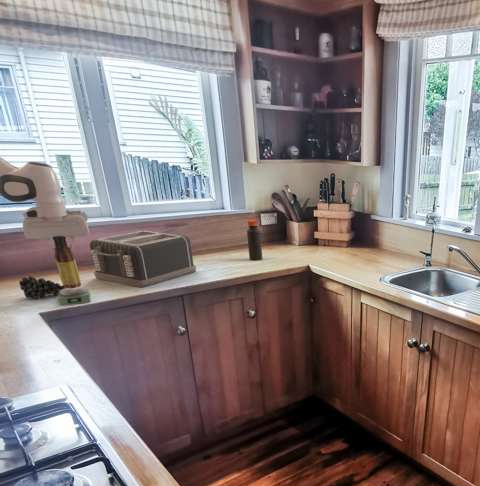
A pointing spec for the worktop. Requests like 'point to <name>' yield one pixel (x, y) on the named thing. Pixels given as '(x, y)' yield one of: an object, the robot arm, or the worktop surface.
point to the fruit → (39, 287)
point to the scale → (75, 298)
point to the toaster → (142, 258)
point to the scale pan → (73, 291)
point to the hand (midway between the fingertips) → (62, 249)
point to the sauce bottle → (66, 263)
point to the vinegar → (254, 241)
